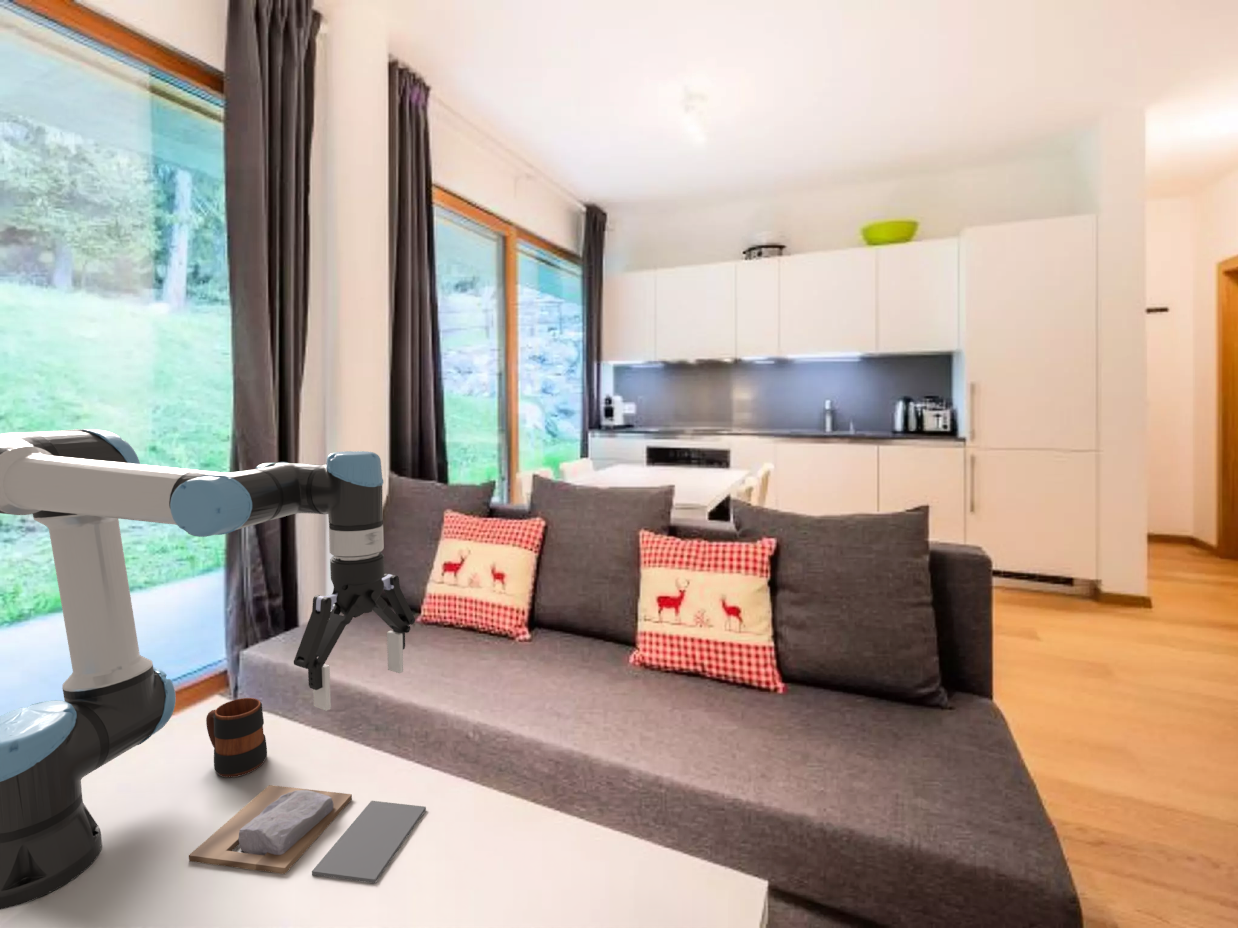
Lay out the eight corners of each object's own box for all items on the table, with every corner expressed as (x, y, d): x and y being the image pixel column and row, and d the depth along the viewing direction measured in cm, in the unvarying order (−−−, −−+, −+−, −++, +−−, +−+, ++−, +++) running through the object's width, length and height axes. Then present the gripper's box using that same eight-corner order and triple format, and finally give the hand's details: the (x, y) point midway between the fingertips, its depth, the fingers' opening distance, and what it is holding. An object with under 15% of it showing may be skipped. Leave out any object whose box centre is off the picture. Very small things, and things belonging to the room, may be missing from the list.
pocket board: (189, 861, 92) (188, 855, 92) (269, 790, 108) (269, 784, 108) (285, 873, 89) (284, 867, 89) (351, 799, 106) (351, 793, 106)
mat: (312, 874, 89) (311, 870, 89) (371, 803, 105) (371, 800, 105) (375, 883, 88) (374, 879, 88) (425, 809, 104) (425, 806, 103)
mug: (230, 746, 122) (226, 690, 121) (278, 756, 119) (274, 699, 117) (189, 771, 114) (185, 712, 113) (239, 782, 110) (235, 722, 109)
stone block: (232, 861, 94) (284, 862, 91) (226, 831, 94) (278, 832, 91) (292, 813, 105) (340, 813, 103) (287, 786, 105) (334, 785, 102)
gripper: (297, 578, 79) (303, 733, 81) (435, 540, 101) (437, 662, 103) (261, 570, 82) (268, 718, 84) (402, 535, 104) (405, 653, 106)
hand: (361, 688), depth 94 cm, fingers open, 13 cm apart
